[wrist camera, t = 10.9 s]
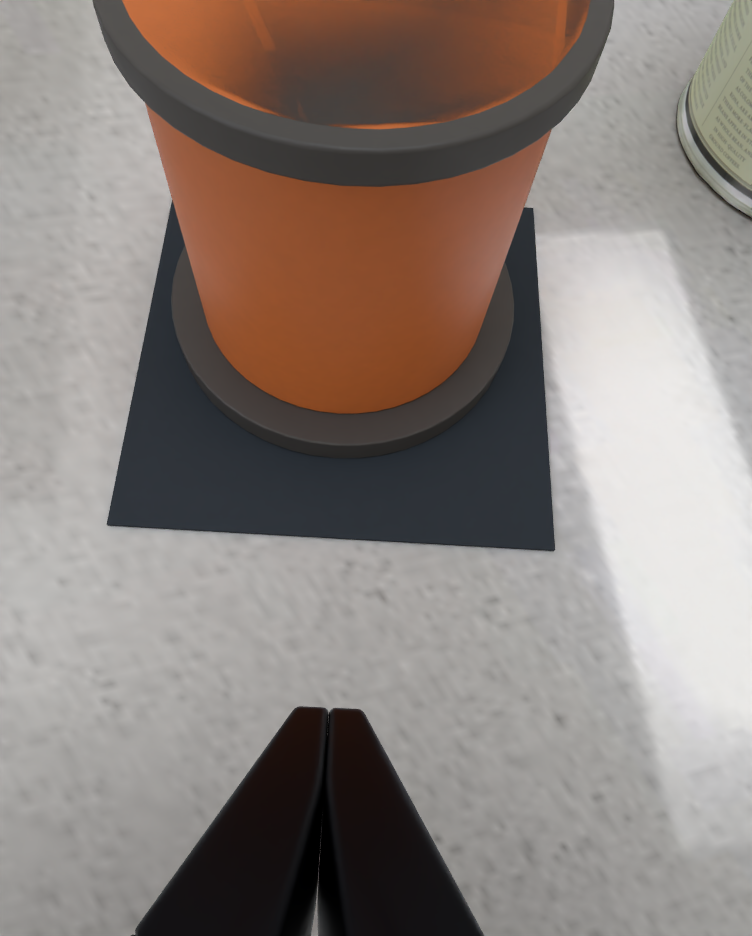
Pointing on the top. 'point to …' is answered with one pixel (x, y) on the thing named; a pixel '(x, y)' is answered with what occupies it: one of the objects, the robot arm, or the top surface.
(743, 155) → the coffee can
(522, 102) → the spool
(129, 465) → the mat
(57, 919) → the top surface
